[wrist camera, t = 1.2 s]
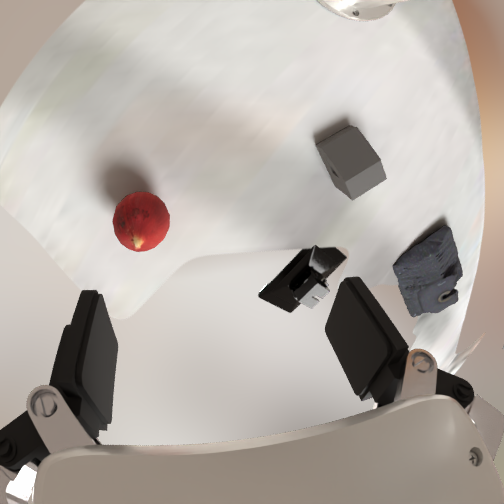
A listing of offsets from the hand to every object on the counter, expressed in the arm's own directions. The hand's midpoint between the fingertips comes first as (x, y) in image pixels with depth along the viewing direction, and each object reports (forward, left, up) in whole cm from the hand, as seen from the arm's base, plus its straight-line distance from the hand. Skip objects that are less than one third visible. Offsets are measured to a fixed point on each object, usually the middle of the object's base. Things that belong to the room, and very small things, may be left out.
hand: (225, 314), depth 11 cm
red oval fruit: (+8, +1, -23) cm, 24 cm away
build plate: (-2, +22, -23) cm, 32 cm away
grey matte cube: (-14, +9, -22) cm, 28 cm away
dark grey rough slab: (-24, +40, -23) cm, 52 cm away
